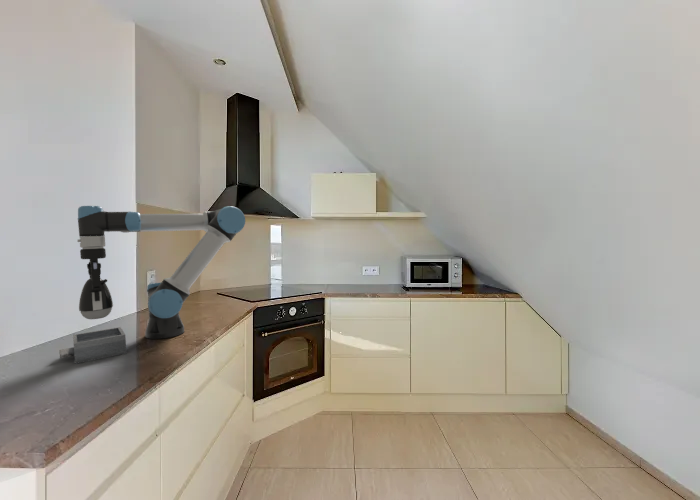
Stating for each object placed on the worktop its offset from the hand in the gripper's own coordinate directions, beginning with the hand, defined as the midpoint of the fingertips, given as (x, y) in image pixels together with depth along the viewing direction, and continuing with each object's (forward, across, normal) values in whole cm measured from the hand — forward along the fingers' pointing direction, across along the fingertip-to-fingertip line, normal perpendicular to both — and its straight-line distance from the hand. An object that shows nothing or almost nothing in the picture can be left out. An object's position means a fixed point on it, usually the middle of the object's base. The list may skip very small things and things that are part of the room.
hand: (96, 307), depth 128 cm
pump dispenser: (+4, 0, 0) cm, 4 cm away
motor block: (+17, 0, -2) cm, 17 cm away
